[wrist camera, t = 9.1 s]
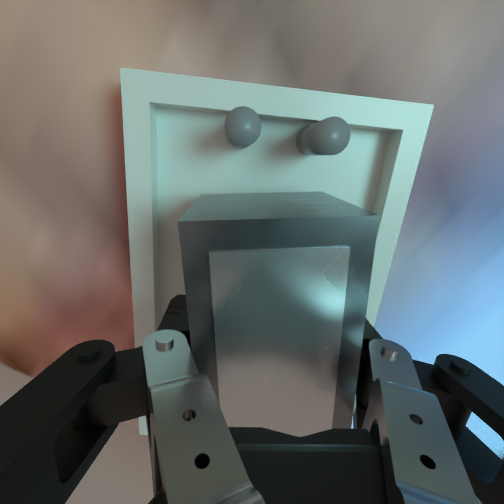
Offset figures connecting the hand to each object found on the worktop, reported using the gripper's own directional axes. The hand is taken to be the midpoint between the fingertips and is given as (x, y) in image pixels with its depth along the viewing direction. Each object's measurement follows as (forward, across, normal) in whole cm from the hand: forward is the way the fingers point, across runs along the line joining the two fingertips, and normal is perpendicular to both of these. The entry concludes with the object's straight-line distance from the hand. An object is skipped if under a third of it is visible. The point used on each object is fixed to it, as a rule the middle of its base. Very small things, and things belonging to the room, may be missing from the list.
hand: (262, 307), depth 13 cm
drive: (+1, 0, 0) cm, 1 cm away
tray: (+3, 0, 0) cm, 3 cm away
